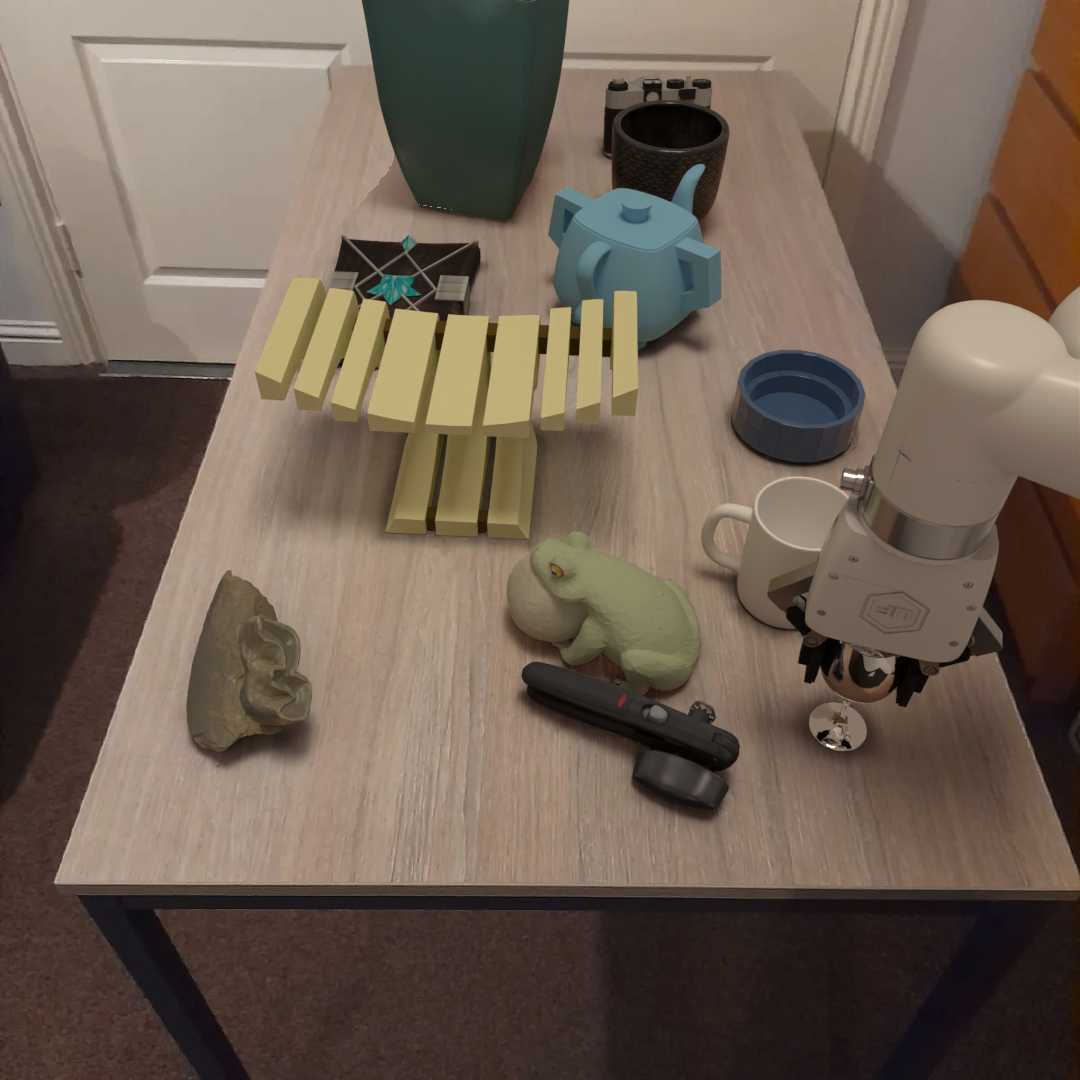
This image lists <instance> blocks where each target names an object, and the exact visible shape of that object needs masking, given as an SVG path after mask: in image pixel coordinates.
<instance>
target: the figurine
mask: <svg viewBox="0 0 1080 1080" xmlns="http://www.w3.org/2000/svg"><path fill="white" fill-rule="evenodd" d="M506 599H507V605H508V610H509V613H510V615H511V619H512V621H513V622H514V623H515V625H516V626H517V628H518V629H520V631H522V632H523V633H524V634H526V635H528V636H529V637H531V638H532V639H536V640H539V641H543V642H548V643H551V645H552V646H554V647H555V648H558V650H559V652H560V655H561V658H562V660H563V661H564V662H565V663H566V664H568V665H569V666H582V665H585V664H587V663H589V662H590V661H592V660H594V659H596V657H598V656H599V655H600V654H601V653H602V654H603V655H604V656H605V657H606V659H608V660H610V661H611V662H613V663H614V664H616V665H618V666H619V667H620V668H621V669H622V671H623V674H624V676H625V679H626V680H622V679H620V678H615V682H614V684H616V685H617V686H619V687H622V688H624V689H627V690H630V691H632V692H635V693H637V694H640V695H642V696H645V694H647V693H648V692H649V689H650V687H651V688H652V689H654V690H658V691H660V692H668V691H672V690H675V689H677V688H679V687H680V686H682V685H684V684H685V682H686V681H687V680H688V678H690V676H691V674H692V671H693V668H694V666H695V665H696V662H697V661H698V657H699V653H700V652H701V650H702V634H701V626H700V621H699V618H698V615H697V612H696V610H695V608H694V606H693V604H692V602H691V600H690V599H689V597H688V595H687V594H686V592H685V591H684V589H683V588H682V587H681V586H680V584H678V582H676V581H675V580H672V579H670V578H667V579H660V578H658V576H655V575H653V574H652V573H650V572H648V571H646V570H644V569H643V568H641V567H639V566H637V565H635V564H634V563H631V562H629V561H627V560H625V559H622V558H621V557H618V556H615V555H612V554H610V553H609V554H608V553H607V552H604V551H603V550H601V549H600V548H599V547H597V546H595V545H591V541H590V538H589V537H588V536H587V534H585V533H584V532H582V531H579V530H578V531H577V530H574V531H570V532H569V533H567V535H565V537H564V538H563V539H555V538H546V539H545V538H544V539H543V540H541V541H539V543H537V545H535V546H534V547H533V548H532V549H531V550H530V551H529V554H528V555H526V556H524V557H523V558H522V559H520V560H518V562H517V563H516V565H514V566H513V568H512V570H511V572H510V573H509V576H508V579H507V584H506ZM573 639H574V640H573Z"/></svg>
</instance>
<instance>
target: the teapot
mask: <svg viewBox="0 0 1080 1080" xmlns="http://www.w3.org/2000/svg"><path fill="white" fill-rule="evenodd" d="M704 170H705V165H703V164H698V165H695V166H694V167H692V168H691V169H689V170H688V171H687V172H686V174H685V175H684V176H683V178H682V180H681V182H680V184H679V186H678V188H677V190H676V192H675V194H674V197H673V199H672V201H671V202H669V201H667V200H665V199H662V198H659V197H656V196H653V195H650V194H647V193H644V192H640V191H637V190H632V189H626V188H617V189H614V190H613V189H611V190H610V191H607V192H606V193H604V194H602V195H601V196H599V197H597V198H596V199H594V198H593V197H591V196H588V195H586V194H585V193H582V192H581V191H578V190H576V189H574V188H571V187H570V186H567V187H566V188H564V189H562V190H560V191H559V192H557V193H555V195H554V199H553V206H552V210H551V216H550V222H549V227H548V231H547V232H548V233H547V236H548V237H549V238H550V239H551V240H552V242H553V243H554V245H555V246H556V247H557V248H558V254H557V256H556V262H555V266H554V274H553V287H554V292H555V294H556V296H557V298H558V300H559V302H560V304H561V305H562V306H563V308H566V307H571V322H573V323H574V324H575V325H579V326H581V312H582V301H583V300H592V299H603V328H611V325H612V312H613V299H614V291H636V292H637V347H638V350H641V349H643V348H645V347H646V346H647V345H648V342H652V341H654V340H657V339H658V338H660V337H662V336H664V335H665V334H666V333H668V332H670V331H671V330H672V329H674V328H675V327H676V326H678V325H679V324H680V323H681V322H682V321H684V320H685V318H687V317H688V316H689V315H690V314H691V313H692V312H693V311H699V310H703V309H707V308H710V307H712V306H713V305H715V304H716V303H717V302H718V301H720V300H721V299H722V250H721V249H718V248H716V247H713V246H710V245H708V244H705V242H704V238H703V234H702V230H701V226H700V223H698V220H697V218H696V217H695V216H694V215H693V214H692V206H693V196H694V192H695V188H696V185H697V183H698V181H699V179H700V177H701V175H702V174H703V172H704Z"/></svg>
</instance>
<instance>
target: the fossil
mask: <svg viewBox="0 0 1080 1080" xmlns="http://www.w3.org/2000/svg"><path fill="white" fill-rule="evenodd" d="M299 637H300V636H299V634H298V633H297V632H296V630H295V629H294V628H292V627H291V626H290V625H287V624H285V623H282V622H280V621H278V617H277V613H276V610H275V607H274V606H273V605H272V604H271V603H270V602H269V601H268V598H267V596H265V595H263V594H262V592H261V591H260V589H258V588H257V587H256V586H254V584H252V582H251V581H248V580H246V579H243V578H242V577H240V576H238V575H233V574H232V570H231V569H228V570H226V572H224V574H223V575H222V577H221V579H220V580H219V583H218V584H217V587H216V589H215V592H214V595H213V597H212V599H211V602H210V604H209V607H208V610H207V612H206V614H205V617H204V621H203V624H202V629H201V631H200V634H199V638H198V641H197V645H196V649H195V651H194V655H193V659H192V662H191V669H190V675H189V681H188V687H187V696H186V702H185V703H186V704H185V707H186V723H187V726H188V733H189V735H190V736H192V738H193V739H194V741H195V743H196V744H197V745H198V746H199V747H200V748H202V749H204V750H207V751H209V750H210V749H211V750H212V751H213V752H216V753H219V752H224V751H225V750H227V749H229V747H230V746H231V745H234V743H236V742H237V741H238V740H239V739H241V738H244V737H247V736H254V735H274V734H277V733H279V732H281V731H283V730H284V726H287V725H288V726H289V725H294V724H297V723H299V722H300V723H302V722H305V721H306V720H307V719H308V716H309V714H310V709H311V703H312V696H313V691H312V683H311V681H309V679H308V677H306V676H305V675H303V674H301V673H299V672H296V671H297V669H298V667H299V665H300V661H301V653H302V651H301V650H302V649H301V647H302V646H301V641H300V638H299Z"/></svg>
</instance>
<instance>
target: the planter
mask: <svg viewBox="0 0 1080 1080" xmlns="http://www.w3.org/2000/svg"><path fill="white" fill-rule="evenodd" d="M730 133H731V132H730V126H729V124H728V121H727V119H725V118H724V116H723V115H721V114H719V113H718V111H715V110H713V109H712V108H710V109H709V108H707V107H704V106H701V105H698V104H694V103H690V102H684V101H675V100H656V101H647V102H642V103H638V104H635V105H632V106H630V107H627V108H626V109H624V110H622V111H621V112H620V113H619V114H618V115H617V116H616V117H615V119H614V122H613V127H612V156H611V187H612V189H611V190H614V189H617V188H626V189H632V190H637V191H640V192H644V193H647V194H650V195H653V196H656V197H659V198H662V199H665V200H667V201H669V202H671V201H672V199H673V197H674V194H675V192H676V190H677V188H678V186H679V184H680V182H681V180H682V178H683V176H684V175H685V174H686V172H687V171H688V170H689V169H691V168H692V167H694V166H695V165H698V164H703V165H705V170H704V172H703V174H702V175H701V177H700V179H699V181H698V183H697V185H696V188H695V192H694V196H693V206H692V214H693V215H694V216H695V217H696V218H697V220H698V223H699V224H701V222H703V220H705V219H706V218H707V216H708V215H709V214H710V212H711V210H712V208H713V206H714V204H715V202H716V199H717V195H718V192H719V189H720V185H721V179H722V175H723V171H724V168H725V167H724V165H725V161H726V156H727V152H728V145H729V140H730Z"/></svg>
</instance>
